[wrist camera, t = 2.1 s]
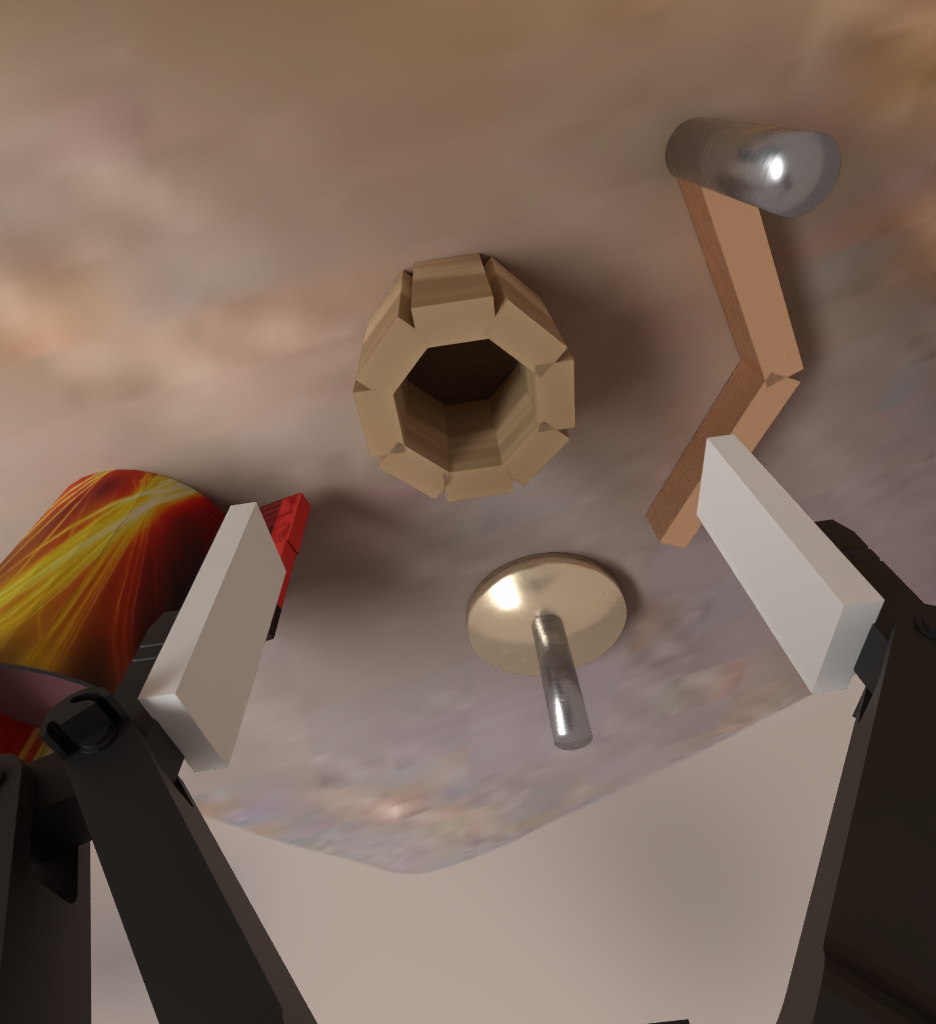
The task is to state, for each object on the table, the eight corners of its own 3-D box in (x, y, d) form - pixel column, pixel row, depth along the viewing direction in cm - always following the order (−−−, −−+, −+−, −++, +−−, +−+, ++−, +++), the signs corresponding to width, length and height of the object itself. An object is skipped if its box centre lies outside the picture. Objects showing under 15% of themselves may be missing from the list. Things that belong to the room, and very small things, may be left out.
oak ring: (351, 272, 24) (332, 320, 19) (541, 243, 24) (572, 284, 19) (391, 439, 29) (385, 510, 24) (550, 415, 28) (576, 483, 24)
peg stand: (456, 565, 34) (465, 694, 27) (624, 542, 34) (679, 666, 26) (476, 670, 40) (488, 798, 33) (619, 651, 40) (662, 776, 32)
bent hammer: (667, 122, 21) (772, 139, 15) (827, 97, 21) (1003, 102, 15) (640, 524, 33) (692, 630, 27) (743, 510, 33) (821, 613, 26)
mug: (319, 488, 30) (270, 676, 21) (191, 626, 36) (106, 825, 26) (138, 372, 26) (-29, 543, 16) (25, 550, 31) (-150, 756, 22)
